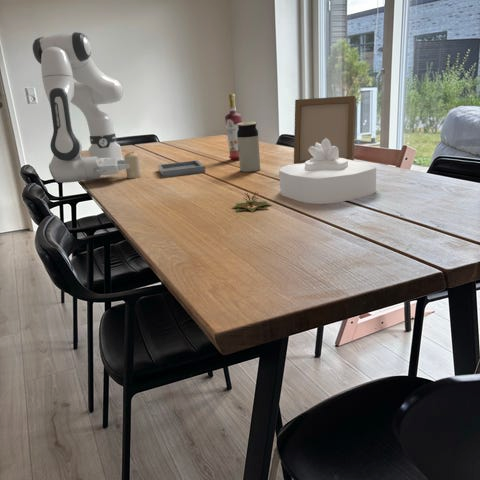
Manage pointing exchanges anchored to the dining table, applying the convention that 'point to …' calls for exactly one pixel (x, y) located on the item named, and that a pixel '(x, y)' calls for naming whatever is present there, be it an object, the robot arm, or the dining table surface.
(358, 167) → the tissue box
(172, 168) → the dish
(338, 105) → the photo frame
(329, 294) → the dining table surface
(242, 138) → the travel mug
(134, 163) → the candle
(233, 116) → the liquor
